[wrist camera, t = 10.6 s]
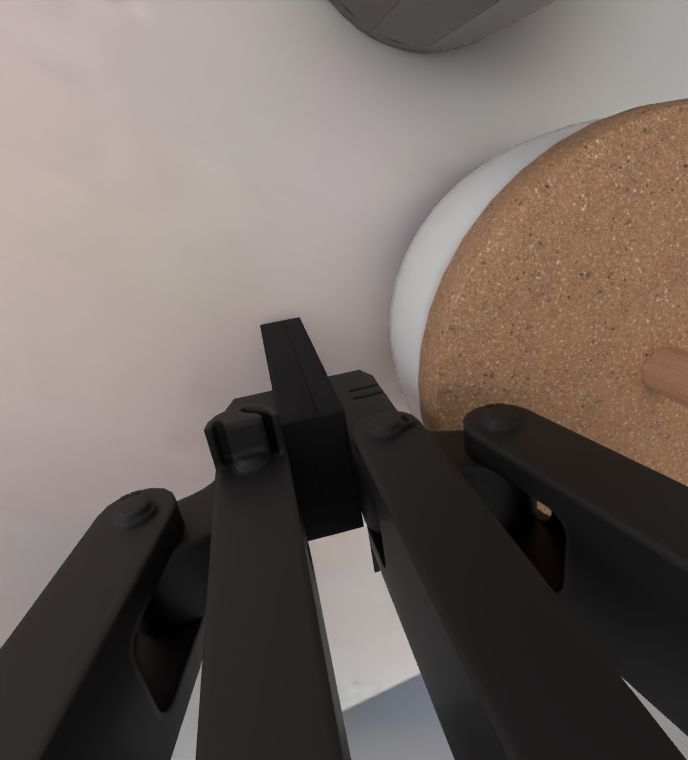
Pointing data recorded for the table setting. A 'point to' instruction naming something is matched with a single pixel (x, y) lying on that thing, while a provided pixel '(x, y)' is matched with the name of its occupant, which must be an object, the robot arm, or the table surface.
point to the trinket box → (559, 288)
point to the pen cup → (434, 20)
